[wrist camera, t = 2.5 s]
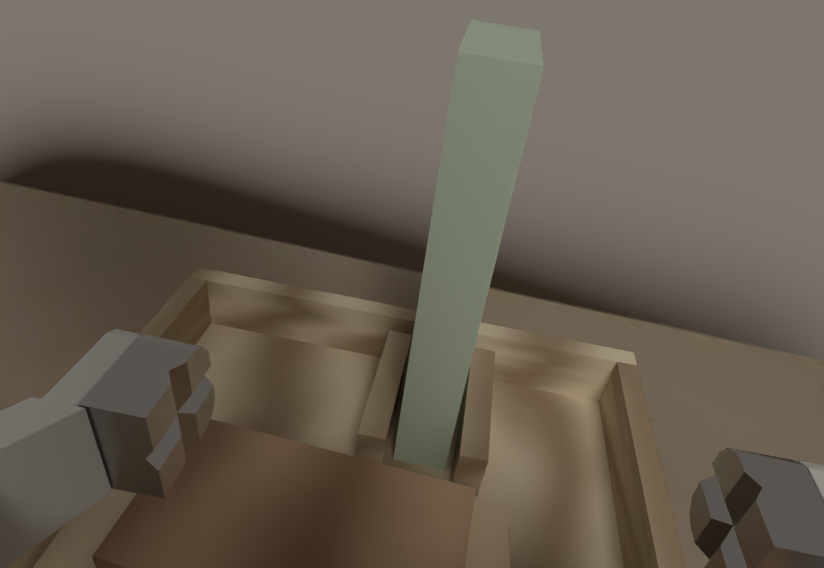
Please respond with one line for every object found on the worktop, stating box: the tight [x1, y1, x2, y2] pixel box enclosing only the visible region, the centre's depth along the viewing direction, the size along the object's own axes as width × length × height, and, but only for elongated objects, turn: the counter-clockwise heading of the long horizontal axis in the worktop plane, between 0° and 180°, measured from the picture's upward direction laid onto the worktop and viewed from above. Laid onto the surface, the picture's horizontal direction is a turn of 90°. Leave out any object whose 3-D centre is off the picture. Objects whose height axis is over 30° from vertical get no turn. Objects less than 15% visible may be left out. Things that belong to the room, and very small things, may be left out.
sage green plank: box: [393, 20, 544, 470], centre depth 23 cm, size 2×5×18 cm, turn 171°
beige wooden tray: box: [4, 267, 685, 568], centre depth 24 cm, size 24×20×4 cm
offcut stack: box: [92, 419, 510, 568], centre depth 20 cm, size 14×7×4 cm, turn 81°
